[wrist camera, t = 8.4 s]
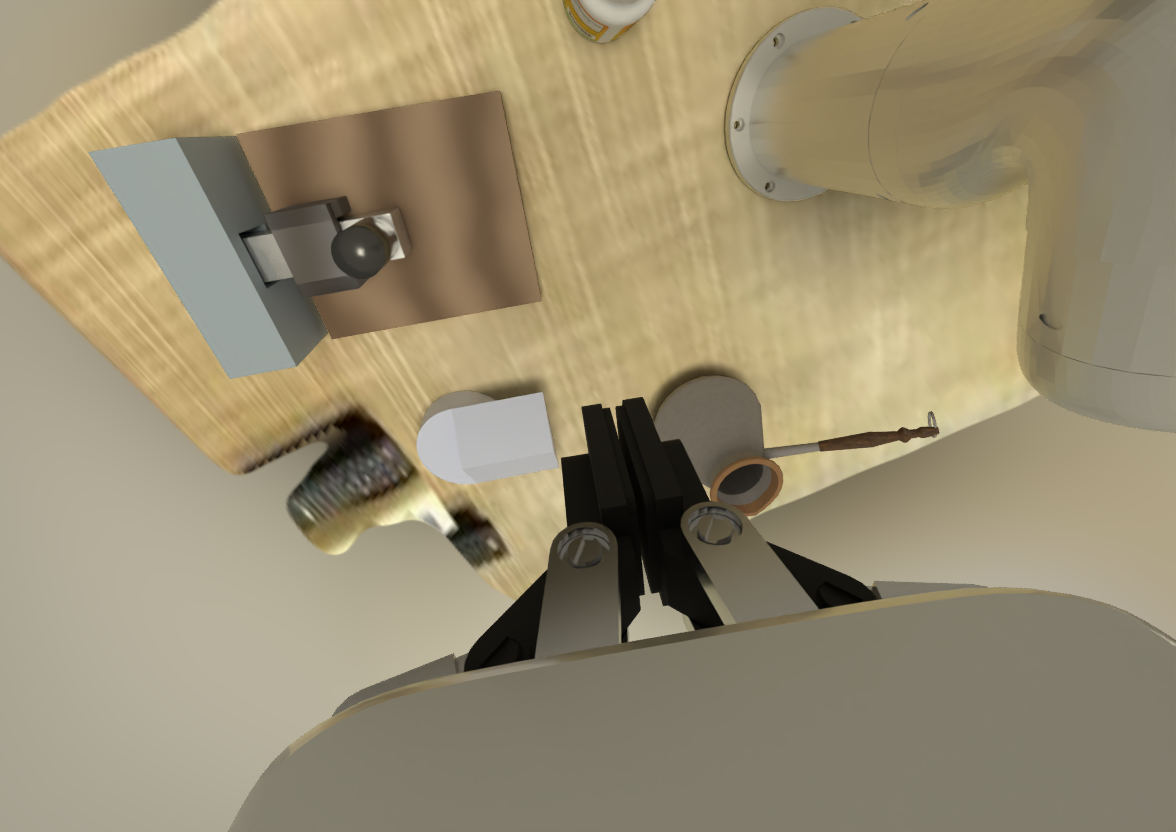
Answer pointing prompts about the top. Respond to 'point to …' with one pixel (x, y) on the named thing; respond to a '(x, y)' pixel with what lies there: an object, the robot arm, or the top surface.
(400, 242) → the bolt
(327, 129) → the door panel
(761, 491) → the coffee pot
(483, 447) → the wedge on round base
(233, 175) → the block
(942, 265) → the top surface
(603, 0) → the supplement bottle
